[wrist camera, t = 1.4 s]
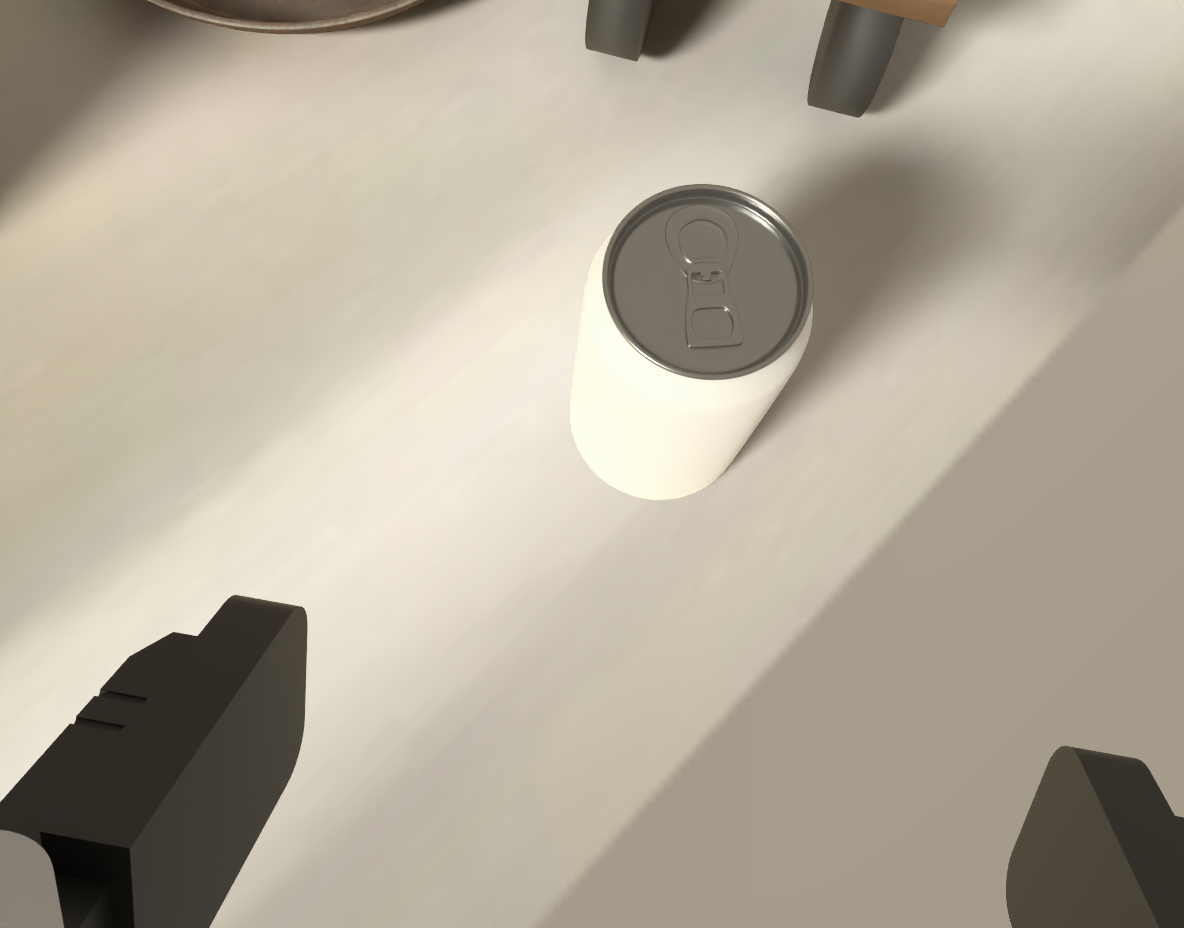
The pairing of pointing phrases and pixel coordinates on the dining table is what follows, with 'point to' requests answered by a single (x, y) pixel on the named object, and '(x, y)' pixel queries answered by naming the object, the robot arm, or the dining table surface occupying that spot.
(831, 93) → the trolley
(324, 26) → the plant saucer
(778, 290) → the can
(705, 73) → the dining table surface
